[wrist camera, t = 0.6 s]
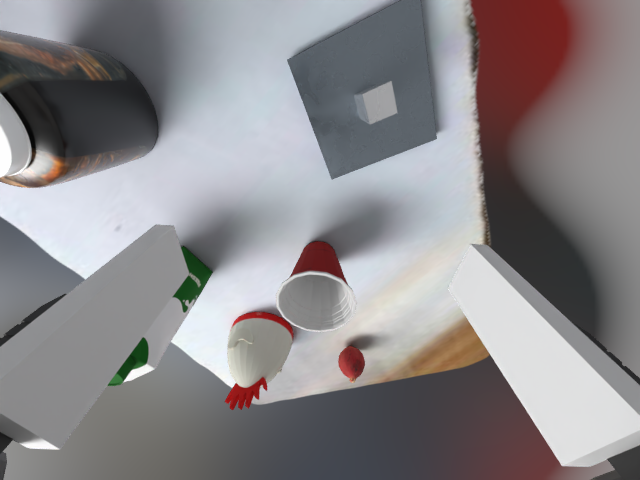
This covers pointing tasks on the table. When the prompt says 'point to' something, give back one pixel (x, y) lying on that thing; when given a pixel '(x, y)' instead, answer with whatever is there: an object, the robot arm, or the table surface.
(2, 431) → the robot arm
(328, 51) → the stand
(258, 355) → the chicken hat
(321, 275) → the plastic cup
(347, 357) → the onion
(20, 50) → the jar
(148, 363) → the milk carton
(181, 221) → the table surface
